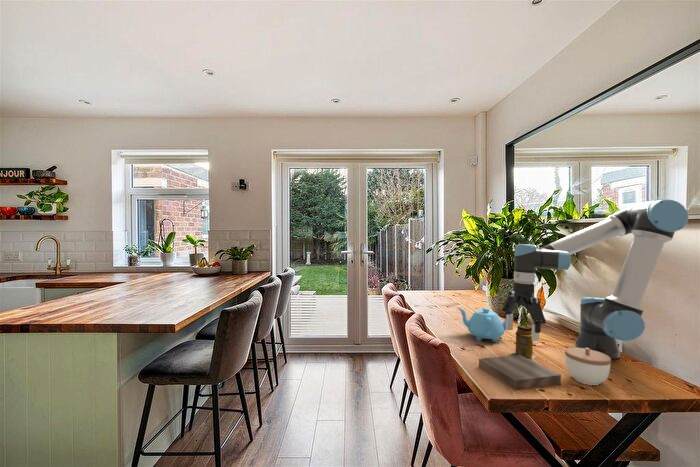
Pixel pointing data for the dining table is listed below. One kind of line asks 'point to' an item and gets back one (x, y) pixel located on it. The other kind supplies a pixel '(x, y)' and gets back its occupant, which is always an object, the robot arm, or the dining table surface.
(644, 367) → the dining table surface
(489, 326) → the teapot
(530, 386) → the grey flat square piece
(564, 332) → the dining table surface
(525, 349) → the condiment
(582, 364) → the lidded bowl
